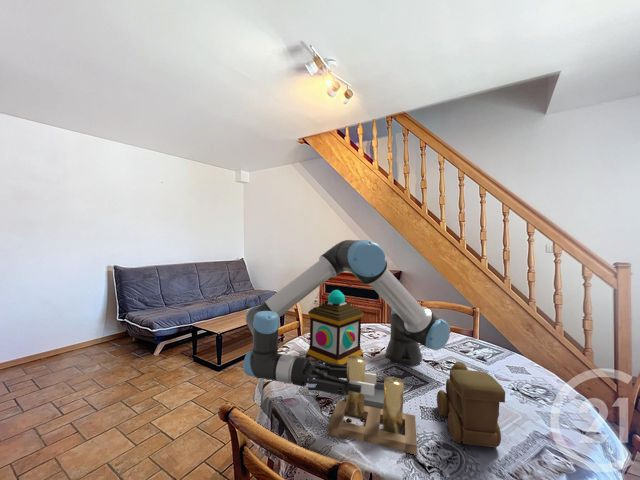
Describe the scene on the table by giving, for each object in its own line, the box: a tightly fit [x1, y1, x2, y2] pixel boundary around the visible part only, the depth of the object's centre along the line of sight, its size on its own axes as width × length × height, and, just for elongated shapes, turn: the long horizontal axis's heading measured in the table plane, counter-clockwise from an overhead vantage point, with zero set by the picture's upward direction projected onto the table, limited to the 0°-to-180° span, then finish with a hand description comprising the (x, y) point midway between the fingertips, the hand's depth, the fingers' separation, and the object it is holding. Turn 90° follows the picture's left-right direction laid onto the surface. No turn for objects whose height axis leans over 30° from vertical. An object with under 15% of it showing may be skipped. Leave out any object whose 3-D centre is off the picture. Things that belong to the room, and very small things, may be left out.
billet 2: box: [381, 376, 405, 435], centre depth 74 cm, size 5×5×14 cm
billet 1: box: [345, 355, 366, 416], centre depth 77 cm, size 5×5×14 cm
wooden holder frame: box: [327, 399, 418, 456], centre depth 76 cm, size 22×12×2 cm, turn 74°
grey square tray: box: [364, 381, 384, 409], centre depth 90 cm, size 12×12×2 cm
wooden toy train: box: [436, 361, 506, 448], centre depth 77 cm, size 20×11×17 cm, turn 173°
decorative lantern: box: [305, 289, 365, 365], centre depth 117 cm, size 20×20×30 cm
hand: (375, 384), depth 76 cm, fingers closed on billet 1, 5 cm apart
